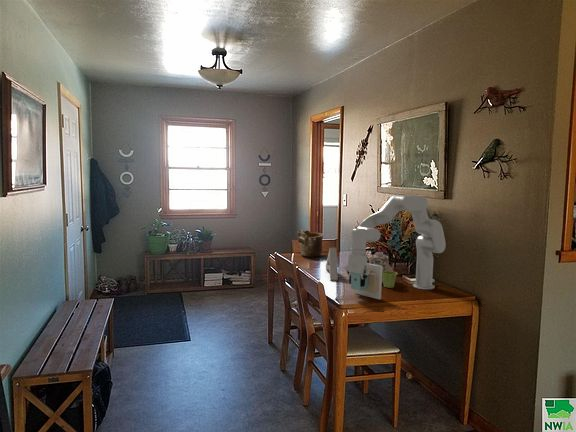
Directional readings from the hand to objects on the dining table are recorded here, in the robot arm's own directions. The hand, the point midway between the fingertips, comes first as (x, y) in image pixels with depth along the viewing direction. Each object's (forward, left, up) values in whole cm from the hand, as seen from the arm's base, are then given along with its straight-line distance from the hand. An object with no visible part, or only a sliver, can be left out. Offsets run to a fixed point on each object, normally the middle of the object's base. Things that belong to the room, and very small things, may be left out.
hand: (356, 284), depth 234 cm
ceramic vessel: (-72, -99, -8) cm, 123 cm away
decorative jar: (-45, -17, -8) cm, 49 cm away
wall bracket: (-35, -46, -9) cm, 59 cm away
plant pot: (-38, -4, -8) cm, 39 cm away
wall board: (-8, 0, -8) cm, 12 cm away
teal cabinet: (-4, 0, -2) cm, 4 cm away
